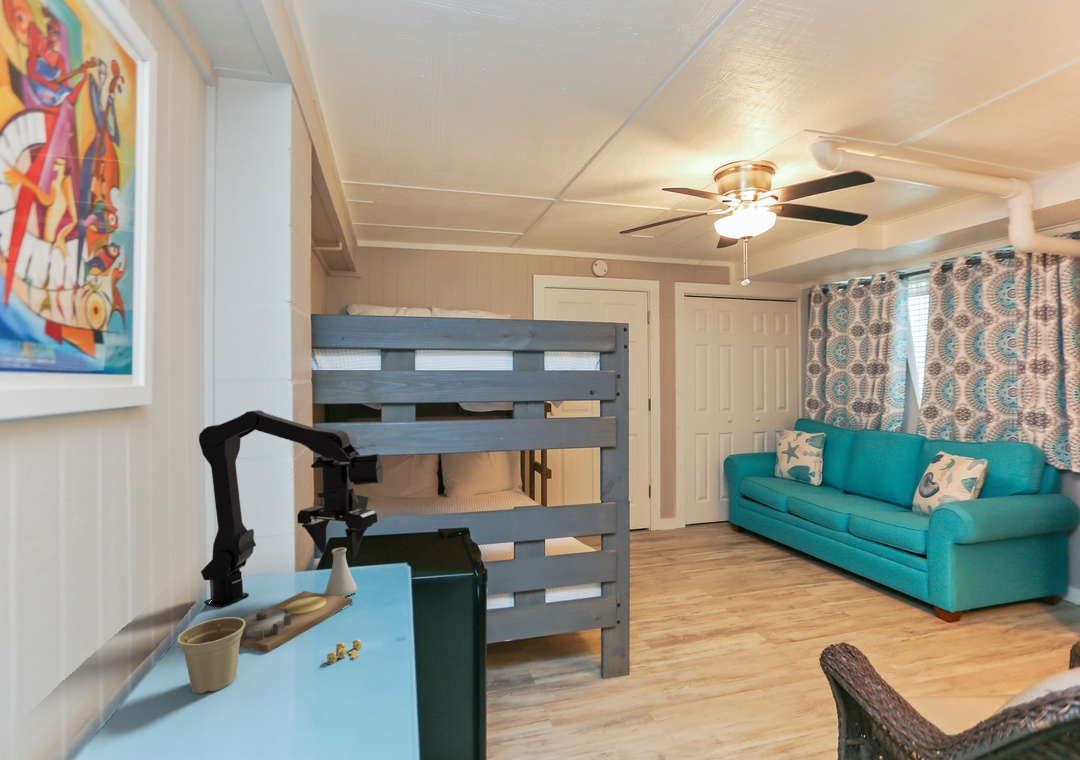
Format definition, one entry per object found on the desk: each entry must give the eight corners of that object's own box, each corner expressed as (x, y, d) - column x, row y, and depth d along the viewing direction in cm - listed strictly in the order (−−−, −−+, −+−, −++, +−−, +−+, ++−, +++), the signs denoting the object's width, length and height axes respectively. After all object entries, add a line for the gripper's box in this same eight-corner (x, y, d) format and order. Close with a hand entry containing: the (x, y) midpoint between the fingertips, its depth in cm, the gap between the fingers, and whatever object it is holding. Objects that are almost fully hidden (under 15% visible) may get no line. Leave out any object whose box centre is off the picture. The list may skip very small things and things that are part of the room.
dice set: (326, 668, 90) (326, 656, 90) (334, 652, 95) (333, 642, 95) (357, 664, 91) (356, 653, 91) (363, 649, 96) (362, 638, 96)
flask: (325, 602, 116) (323, 557, 116) (322, 591, 123) (320, 548, 123) (360, 595, 120) (358, 550, 120) (355, 584, 126) (353, 542, 126)
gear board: (212, 641, 100) (211, 619, 100) (304, 596, 120) (303, 577, 120) (265, 653, 95) (264, 630, 95) (352, 604, 115) (351, 584, 115)
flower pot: (260, 667, 90) (257, 616, 90) (222, 701, 81) (219, 644, 81) (208, 666, 91) (206, 616, 91) (165, 700, 82) (162, 644, 82)
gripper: (391, 480, 125) (394, 547, 125) (331, 477, 132) (333, 540, 132) (357, 490, 114) (361, 563, 115) (294, 487, 122) (297, 555, 122)
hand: (338, 554), depth 121 cm, fingers open, 9 cm apart
